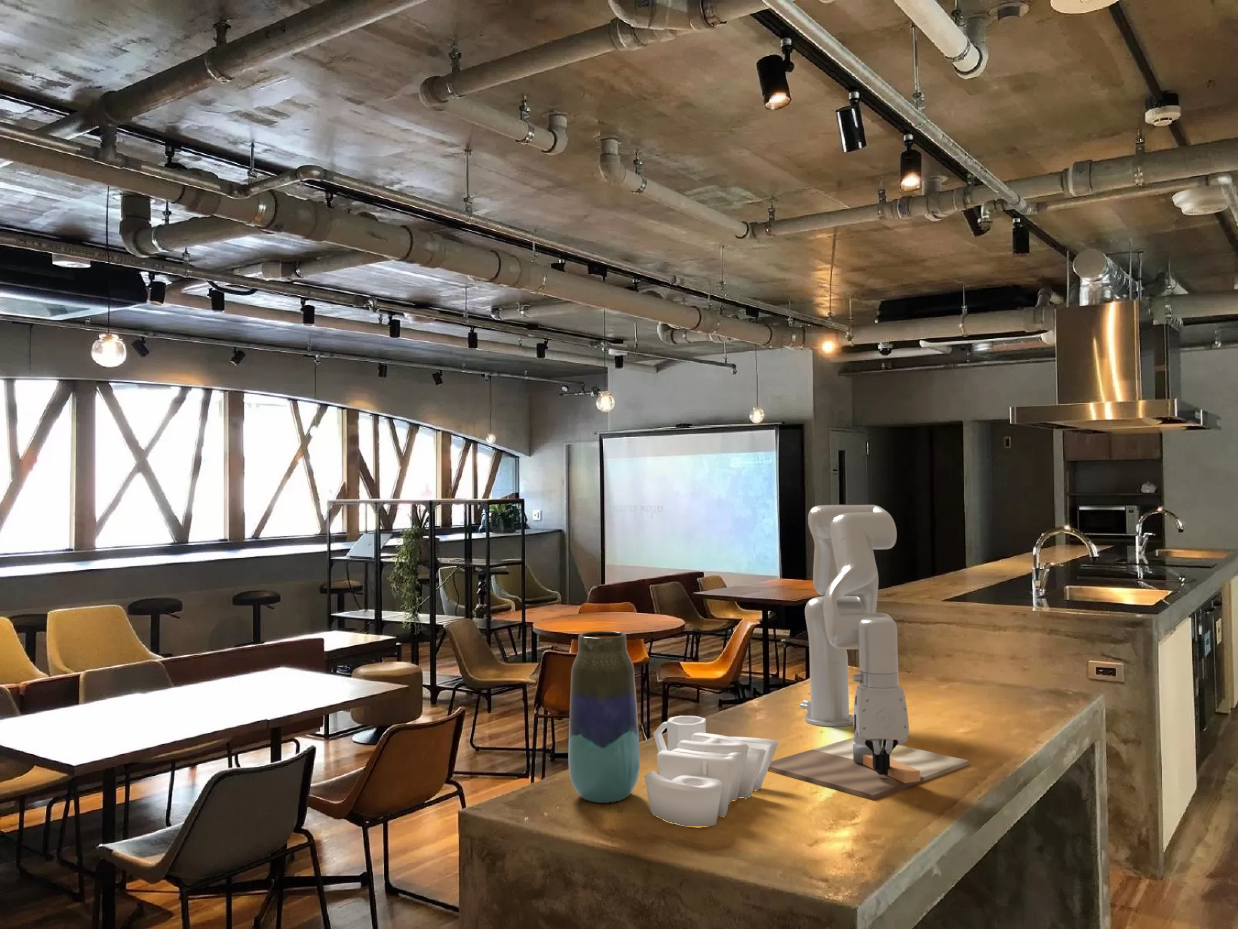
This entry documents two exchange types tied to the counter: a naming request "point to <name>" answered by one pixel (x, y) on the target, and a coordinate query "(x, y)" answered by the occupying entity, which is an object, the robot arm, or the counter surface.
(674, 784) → the wavy white extrusion
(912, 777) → the bar
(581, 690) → the vase
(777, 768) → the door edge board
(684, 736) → the mug
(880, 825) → the counter surface
